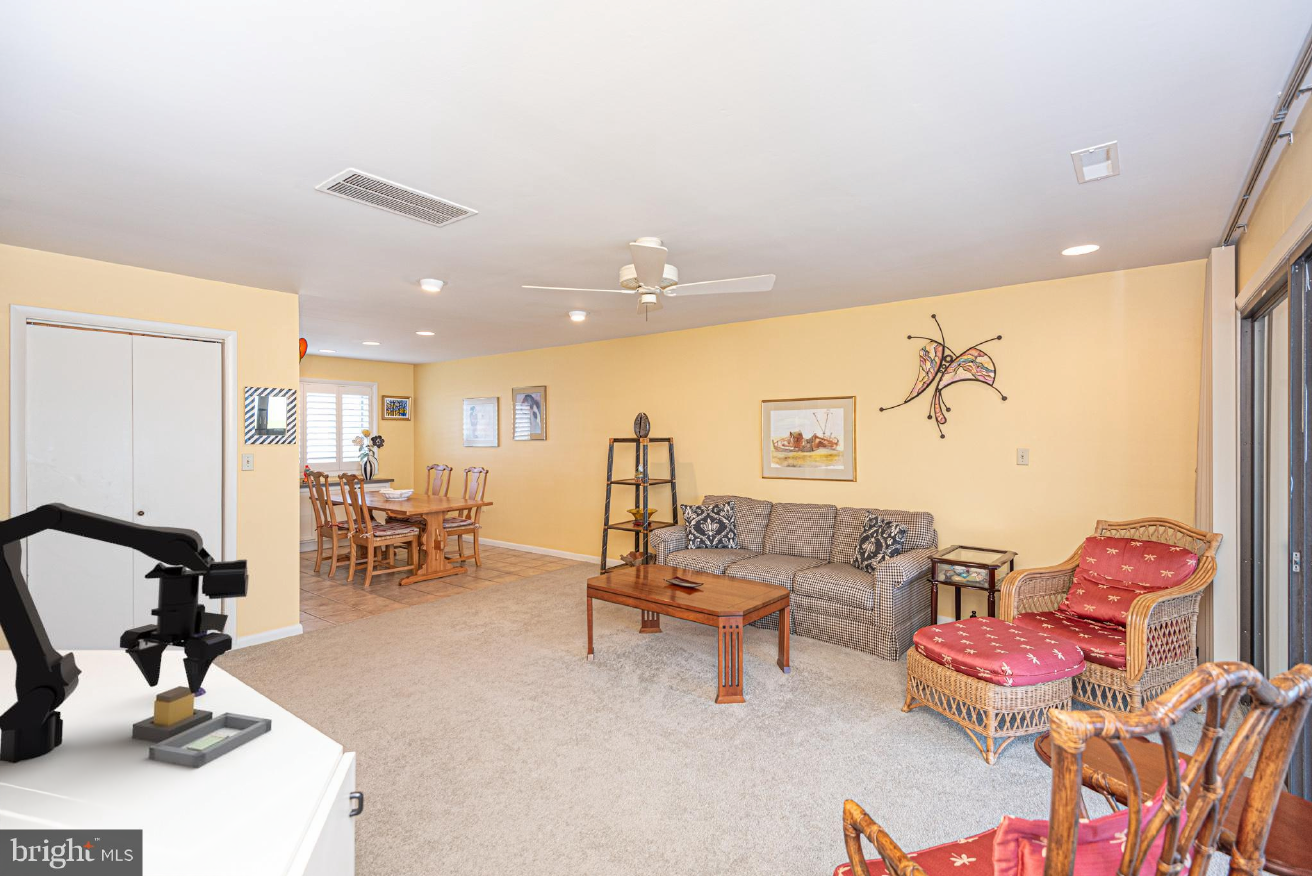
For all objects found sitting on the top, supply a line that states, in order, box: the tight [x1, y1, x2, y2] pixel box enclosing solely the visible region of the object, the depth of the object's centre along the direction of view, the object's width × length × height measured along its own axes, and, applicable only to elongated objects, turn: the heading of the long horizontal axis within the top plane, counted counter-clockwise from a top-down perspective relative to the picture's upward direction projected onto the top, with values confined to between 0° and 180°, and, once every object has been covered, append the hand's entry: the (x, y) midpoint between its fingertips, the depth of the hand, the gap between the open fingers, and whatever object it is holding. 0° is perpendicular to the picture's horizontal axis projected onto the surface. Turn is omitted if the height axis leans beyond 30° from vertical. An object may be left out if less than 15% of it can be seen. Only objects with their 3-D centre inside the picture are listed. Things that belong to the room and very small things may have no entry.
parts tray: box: [148, 712, 273, 769], centre depth 107 cm, size 14×10×2 cm
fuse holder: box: [131, 708, 214, 744], centre depth 111 cm, size 8×8×3 cm
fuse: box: [186, 732, 230, 752], centre depth 104 cm, size 5×3×2 cm, turn 167°
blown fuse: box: [153, 685, 195, 726], centre depth 111 cm, size 5×3×7 cm
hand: (174, 689), depth 111 cm, fingers open, 9 cm apart
